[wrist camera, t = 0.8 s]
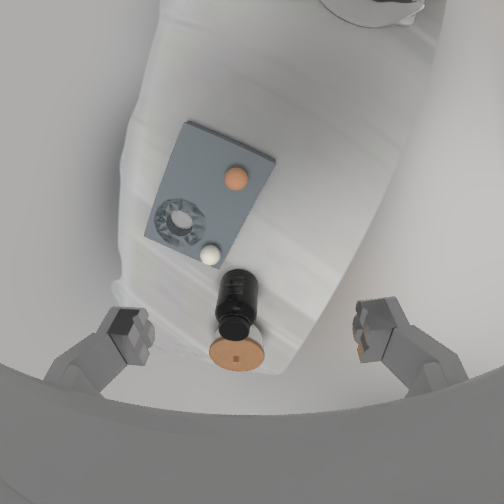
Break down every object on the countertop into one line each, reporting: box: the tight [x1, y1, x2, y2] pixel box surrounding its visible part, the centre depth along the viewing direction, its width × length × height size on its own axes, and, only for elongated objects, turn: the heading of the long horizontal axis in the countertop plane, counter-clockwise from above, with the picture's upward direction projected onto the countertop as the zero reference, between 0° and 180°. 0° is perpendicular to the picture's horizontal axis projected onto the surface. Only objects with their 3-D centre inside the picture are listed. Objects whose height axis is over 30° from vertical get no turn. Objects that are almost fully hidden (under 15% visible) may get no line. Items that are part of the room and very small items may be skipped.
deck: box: [144, 121, 276, 269], centre depth 42 cm, size 20×14×2 cm
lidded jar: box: [209, 325, 264, 371], centre depth 54 cm, size 11×11×9 cm
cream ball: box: [200, 245, 220, 265], centre depth 44 cm, size 3×3×3 cm
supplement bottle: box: [215, 270, 258, 341], centre depth 47 cm, size 7×7×12 cm
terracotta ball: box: [224, 167, 248, 191], centre depth 37 cm, size 3×3×3 cm
